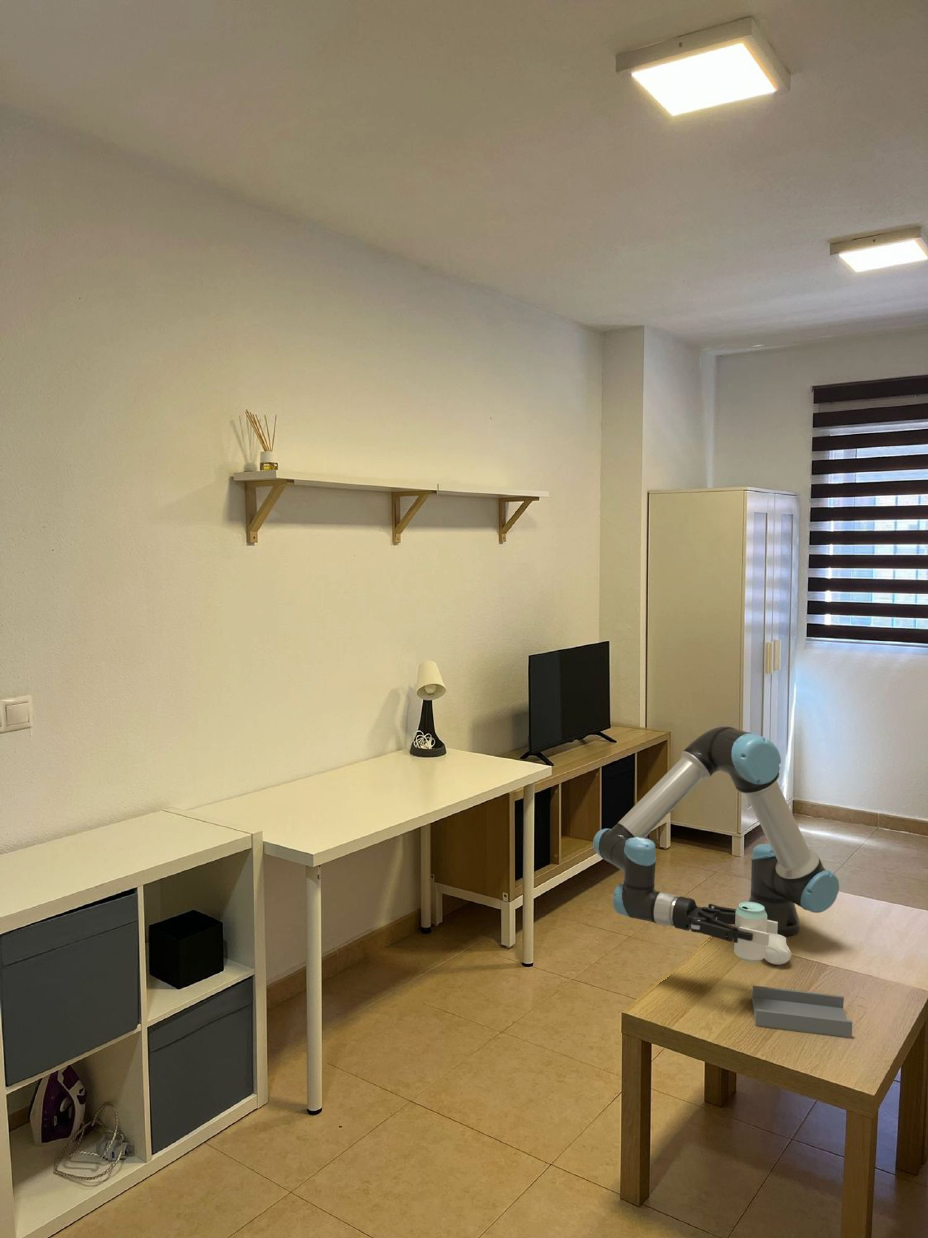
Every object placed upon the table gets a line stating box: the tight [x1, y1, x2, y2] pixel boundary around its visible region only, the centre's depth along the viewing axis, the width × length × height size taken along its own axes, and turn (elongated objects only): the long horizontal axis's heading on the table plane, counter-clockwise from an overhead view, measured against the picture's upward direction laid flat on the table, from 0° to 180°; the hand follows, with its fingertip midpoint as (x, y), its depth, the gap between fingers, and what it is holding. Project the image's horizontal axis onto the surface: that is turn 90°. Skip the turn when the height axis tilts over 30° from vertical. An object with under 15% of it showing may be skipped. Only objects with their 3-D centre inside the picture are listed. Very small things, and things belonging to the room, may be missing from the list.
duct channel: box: [751, 985, 853, 1039], centre depth 215 cm, size 13×20×4 cm, turn 77°
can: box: [733, 901, 767, 963], centre depth 221 cm, size 7×7×12 cm
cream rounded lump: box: [763, 933, 793, 966], centre depth 244 cm, size 8×8×8 cm
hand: (772, 933), depth 218 cm, fingers closed on can, 7 cm apart
